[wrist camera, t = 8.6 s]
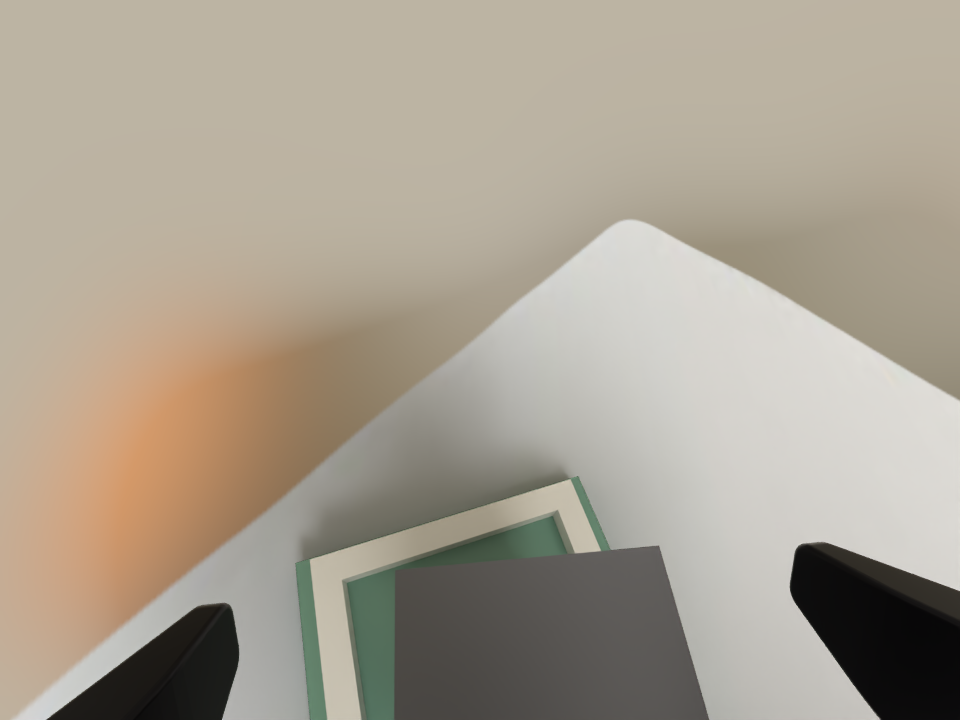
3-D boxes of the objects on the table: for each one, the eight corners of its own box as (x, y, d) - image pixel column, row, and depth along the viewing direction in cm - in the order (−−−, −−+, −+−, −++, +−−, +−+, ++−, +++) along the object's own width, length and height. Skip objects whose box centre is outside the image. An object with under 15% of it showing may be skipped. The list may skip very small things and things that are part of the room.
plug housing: (562, 735, 15) (756, 885, 6) (426, 753, 14) (391, 951, 5) (542, 599, 17) (658, 545, 8) (423, 611, 16) (395, 570, 7)
